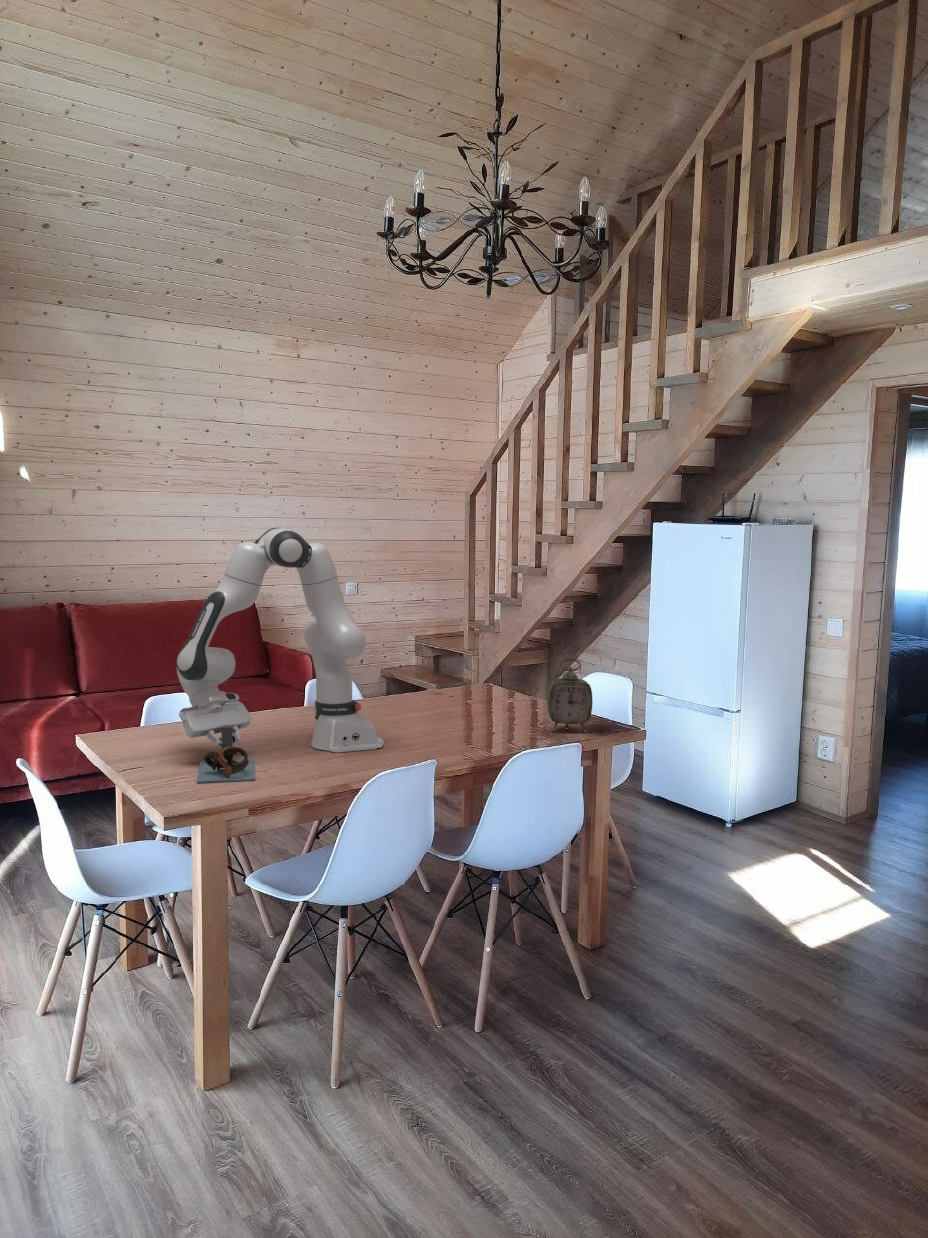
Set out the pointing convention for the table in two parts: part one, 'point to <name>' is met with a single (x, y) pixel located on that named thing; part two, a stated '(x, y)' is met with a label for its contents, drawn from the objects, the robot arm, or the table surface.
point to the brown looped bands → (227, 760)
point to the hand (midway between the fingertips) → (228, 743)
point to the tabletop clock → (569, 699)
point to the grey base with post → (210, 775)
